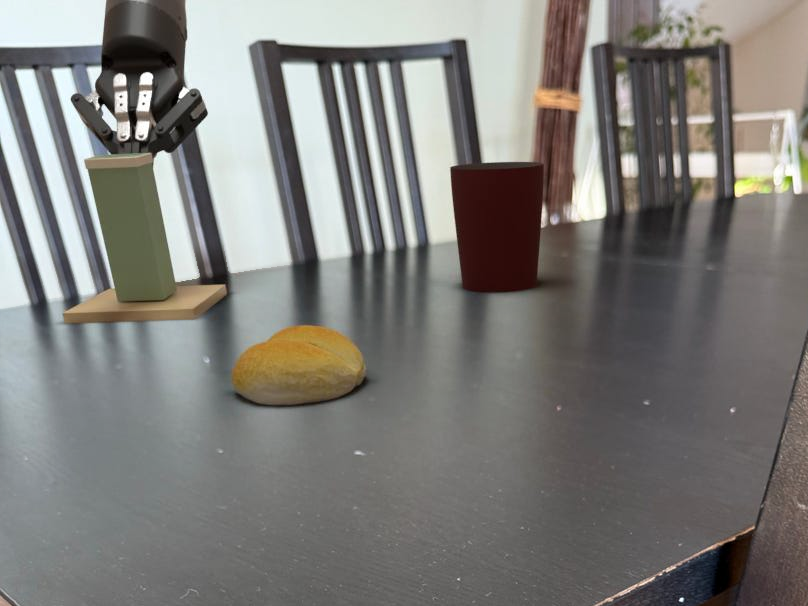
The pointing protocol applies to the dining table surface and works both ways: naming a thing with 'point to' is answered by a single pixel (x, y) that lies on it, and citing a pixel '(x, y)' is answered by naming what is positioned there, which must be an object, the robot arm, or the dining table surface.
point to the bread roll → (299, 367)
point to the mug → (498, 224)
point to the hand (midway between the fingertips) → (134, 184)
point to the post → (132, 225)
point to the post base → (147, 306)
